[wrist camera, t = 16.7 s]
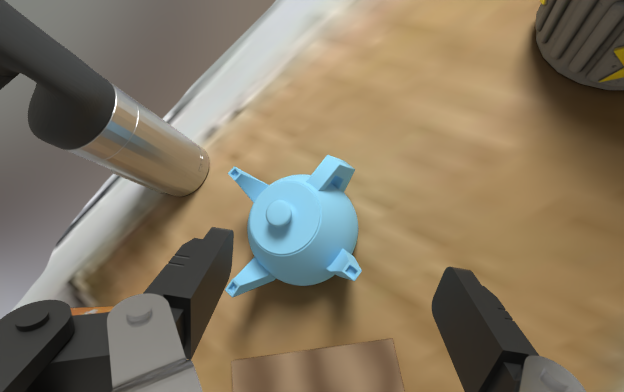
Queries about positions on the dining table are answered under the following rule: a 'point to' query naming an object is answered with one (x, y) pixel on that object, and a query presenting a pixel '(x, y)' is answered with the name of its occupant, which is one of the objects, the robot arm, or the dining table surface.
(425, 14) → the dining table surface
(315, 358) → the placemat
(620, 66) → the toy tesla coil
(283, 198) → the teapot
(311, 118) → the dining table surface
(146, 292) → the robot arm
